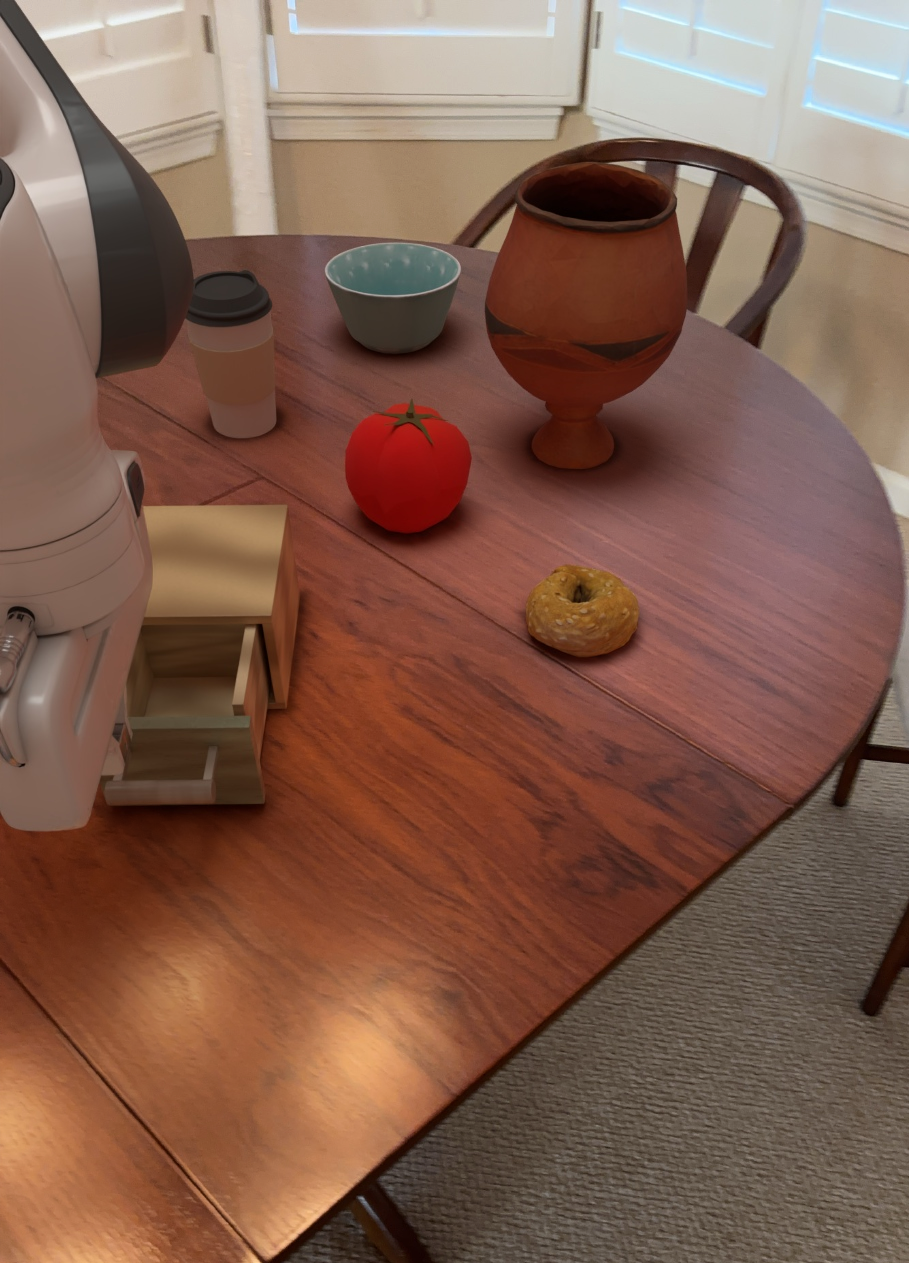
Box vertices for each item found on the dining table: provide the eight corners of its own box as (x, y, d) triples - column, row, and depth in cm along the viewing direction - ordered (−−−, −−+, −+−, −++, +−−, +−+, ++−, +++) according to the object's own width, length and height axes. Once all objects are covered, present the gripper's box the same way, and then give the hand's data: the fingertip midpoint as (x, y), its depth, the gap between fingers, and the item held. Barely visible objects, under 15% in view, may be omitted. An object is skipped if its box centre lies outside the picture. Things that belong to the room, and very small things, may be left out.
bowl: (338, 308, 134) (332, 238, 128) (462, 310, 134) (463, 240, 128) (323, 367, 124) (316, 294, 118) (458, 370, 124) (458, 297, 117)
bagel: (652, 602, 95) (660, 557, 91) (617, 678, 88) (624, 633, 85) (546, 576, 97) (550, 532, 94) (505, 649, 91) (507, 604, 87)
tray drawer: (257, 855, 75) (241, 779, 69) (94, 857, 74) (63, 781, 69) (280, 680, 87) (268, 602, 81) (140, 681, 87) (117, 604, 81)
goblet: (504, 510, 105) (515, 240, 86) (465, 413, 117) (467, 159, 98) (689, 489, 107) (740, 223, 88) (632, 396, 120) (665, 145, 101)
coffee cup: (227, 454, 111) (202, 309, 100) (188, 418, 116) (159, 276, 105) (302, 428, 115) (286, 284, 104) (261, 394, 120) (241, 254, 108)
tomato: (344, 550, 100) (334, 441, 92) (352, 483, 108) (344, 377, 99) (471, 551, 100) (472, 442, 92) (471, 484, 108) (472, 377, 99)
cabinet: (286, 710, 86) (271, 615, 78) (129, 712, 86) (99, 617, 78) (300, 598, 95) (287, 504, 88) (159, 599, 95) (135, 505, 88)
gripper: (59, 700, 43) (138, 905, 53) (145, 436, 56) (195, 640, 67) (-99, 703, 43) (10, 907, 53) (25, 438, 56) (93, 642, 67)
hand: (114, 757), depth 60 cm, fingers closed
